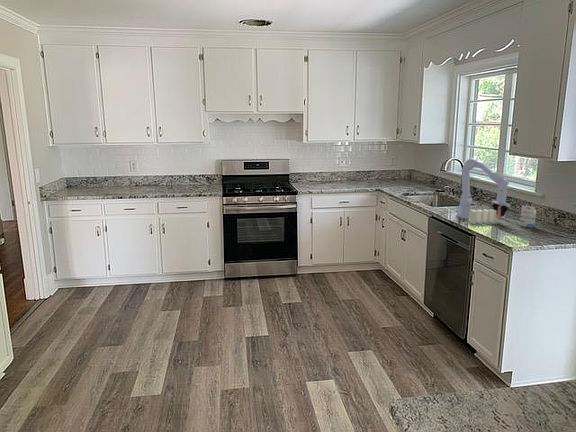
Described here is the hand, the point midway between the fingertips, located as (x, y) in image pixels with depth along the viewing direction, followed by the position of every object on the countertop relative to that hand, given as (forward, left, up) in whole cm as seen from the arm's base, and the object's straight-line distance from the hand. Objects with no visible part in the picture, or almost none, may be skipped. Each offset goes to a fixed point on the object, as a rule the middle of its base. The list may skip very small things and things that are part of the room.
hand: (499, 215), depth 300 cm
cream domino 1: (0, -20, -5) cm, 21 cm away
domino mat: (-2, -8, -6) cm, 10 cm away
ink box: (+12, +13, -6) cm, 19 cm away
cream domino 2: (0, -15, -5) cm, 16 cm away
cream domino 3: (0, -10, -5) cm, 11 cm away
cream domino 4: (0, -5, -5) cm, 7 cm away
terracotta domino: (0, 0, -3) cm, 3 cm away
